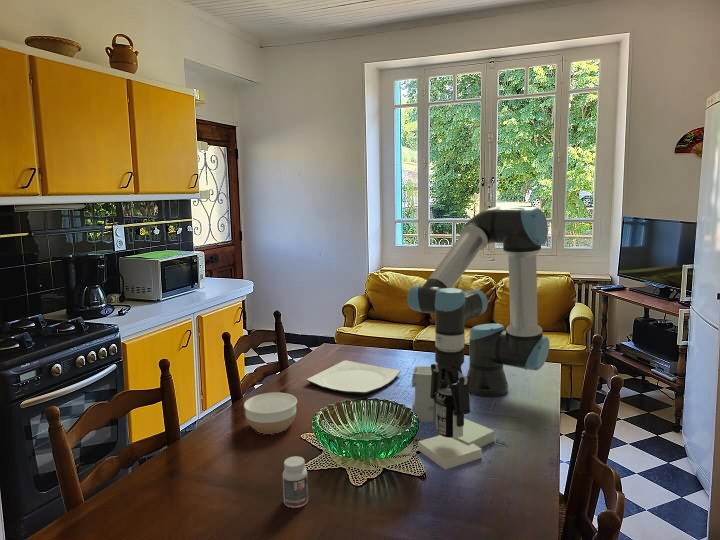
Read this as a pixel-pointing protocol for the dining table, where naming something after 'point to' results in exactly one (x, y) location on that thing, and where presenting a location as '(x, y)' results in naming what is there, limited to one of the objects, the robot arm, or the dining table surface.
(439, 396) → the beverage can
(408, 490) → the dining table surface
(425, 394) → the circuit breaker
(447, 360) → the robot arm
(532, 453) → the dining table surface
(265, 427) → the bowl
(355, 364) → the plate
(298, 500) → the pill bottle
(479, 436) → the stand
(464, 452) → the stand
